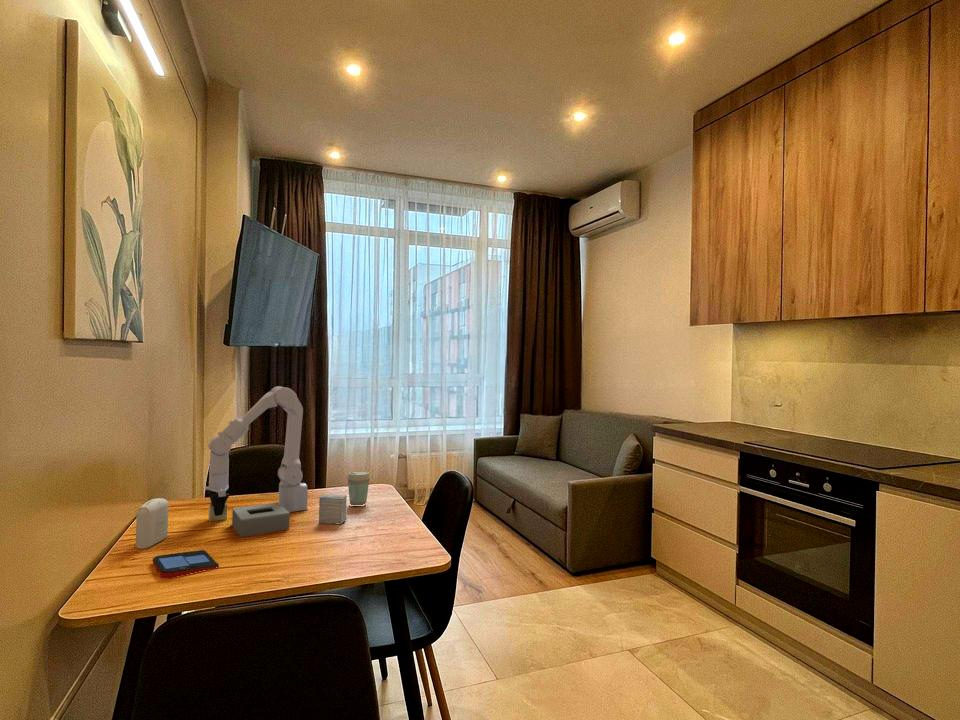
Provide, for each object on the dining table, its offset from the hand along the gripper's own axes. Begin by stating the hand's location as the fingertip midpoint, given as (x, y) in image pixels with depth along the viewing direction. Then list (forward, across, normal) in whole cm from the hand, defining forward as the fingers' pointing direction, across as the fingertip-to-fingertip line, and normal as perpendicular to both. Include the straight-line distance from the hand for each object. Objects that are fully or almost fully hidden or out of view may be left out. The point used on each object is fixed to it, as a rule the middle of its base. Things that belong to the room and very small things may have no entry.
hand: (217, 513), depth 168 cm
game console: (+3, +37, -13) cm, 39 cm away
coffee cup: (+2, +7, +46) cm, 47 cm away
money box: (+2, +15, +10) cm, 18 cm away
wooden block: (+2, 0, 0) cm, 2 cm away
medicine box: (+2, +22, +31) cm, 38 cm away
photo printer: (+2, +14, -19) cm, 24 cm away
